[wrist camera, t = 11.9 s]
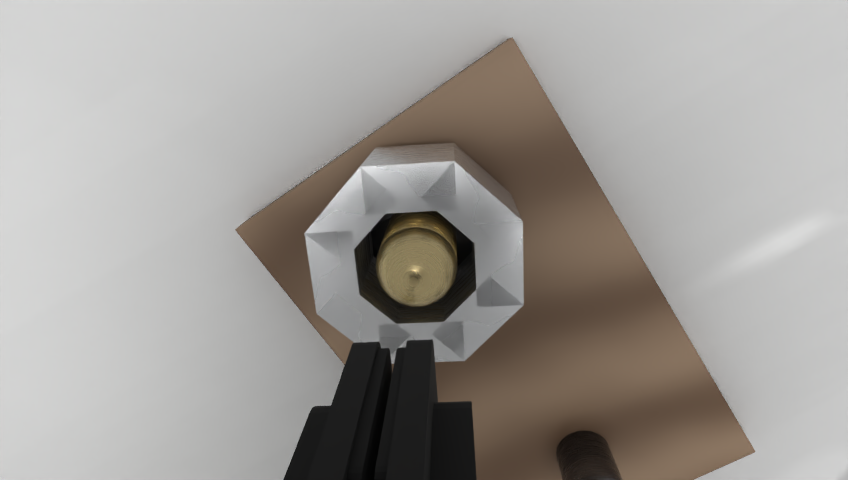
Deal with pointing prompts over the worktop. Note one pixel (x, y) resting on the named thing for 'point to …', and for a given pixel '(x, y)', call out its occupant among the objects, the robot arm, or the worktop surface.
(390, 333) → the white octagonal block
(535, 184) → the base board
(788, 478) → the worktop surface
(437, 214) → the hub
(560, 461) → the stand rod
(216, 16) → the worktop surface
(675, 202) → the worktop surface
